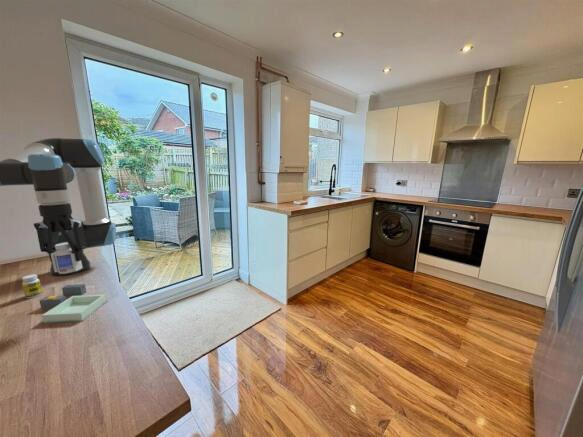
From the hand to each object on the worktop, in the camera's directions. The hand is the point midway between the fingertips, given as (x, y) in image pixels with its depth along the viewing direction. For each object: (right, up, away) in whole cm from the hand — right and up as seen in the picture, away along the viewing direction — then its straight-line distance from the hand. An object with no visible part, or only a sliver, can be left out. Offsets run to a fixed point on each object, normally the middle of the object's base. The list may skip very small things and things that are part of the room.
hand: (68, 269), depth 82 cm
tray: (0, -16, +3) cm, 16 cm away
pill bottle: (0, -1, 0) cm, 1 cm away
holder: (-12, -14, +11) cm, 22 cm away
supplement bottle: (-28, -14, +15) cm, 35 cm away
